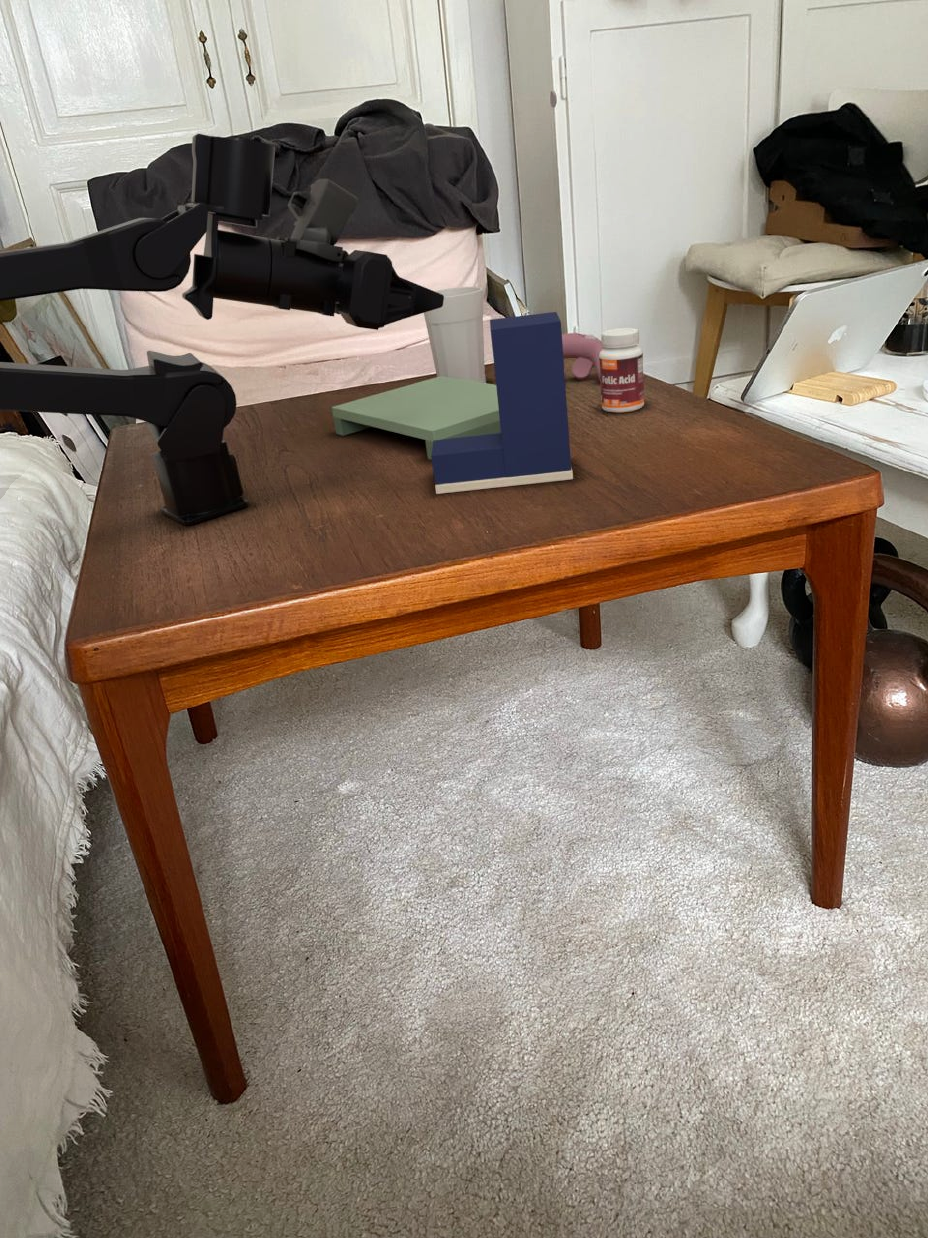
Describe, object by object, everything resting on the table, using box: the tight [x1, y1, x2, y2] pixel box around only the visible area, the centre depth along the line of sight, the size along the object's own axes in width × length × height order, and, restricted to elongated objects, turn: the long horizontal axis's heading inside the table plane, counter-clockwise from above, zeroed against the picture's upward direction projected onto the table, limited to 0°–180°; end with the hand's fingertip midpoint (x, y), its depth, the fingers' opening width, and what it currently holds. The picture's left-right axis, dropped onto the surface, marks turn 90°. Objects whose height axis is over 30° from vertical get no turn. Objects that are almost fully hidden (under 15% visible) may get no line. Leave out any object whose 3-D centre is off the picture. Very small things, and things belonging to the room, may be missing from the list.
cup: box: [423, 286, 487, 383], centre depth 123 cm, size 8×8×12 cm
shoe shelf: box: [331, 376, 501, 461], centre depth 107 cm, size 16×20×3 cm
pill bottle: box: [599, 327, 645, 414], centre depth 105 cm, size 5×5×8 cm
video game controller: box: [562, 332, 604, 381], centre depth 120 cm, size 10×5×7 cm, turn 84°
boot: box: [431, 311, 574, 495], centre depth 86 cm, size 13×6×14 cm, turn 89°
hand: (425, 296), depth 92 cm, fingers open, 9 cm apart
